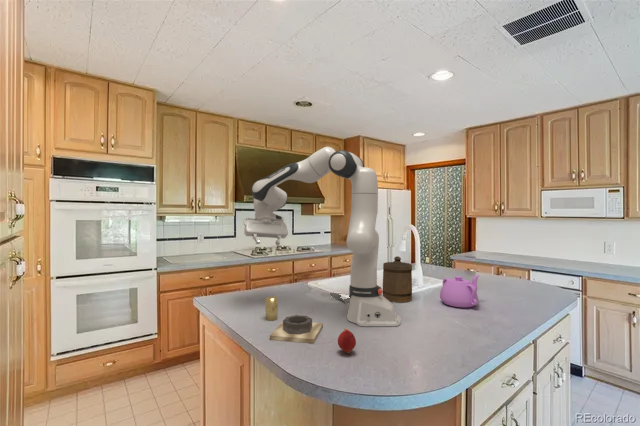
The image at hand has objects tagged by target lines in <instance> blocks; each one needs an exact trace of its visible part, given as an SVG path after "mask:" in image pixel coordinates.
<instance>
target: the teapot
mask: <svg viewBox="0 0 640 426" xmlns="http://www.w3.org/2000/svg"><path fill="white" fill-rule="evenodd" d="M479 277H480V274H477V275H475V276H474V277H473V278H472V280H471V281H470V280H469V279H464V278H463V276H462V275H454V278H447V277H446V278H444V279H443V280H442V287H441V289H440V292H439V293H440V294H439V298H440V300H441V301H442V303H443V304H445V305H447V306H450V307H454V308H472V307H475V306H476V305H477V304H478V302H479V297H478V293H477V292H478V278H479Z"/></svg>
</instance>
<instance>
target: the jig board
mask: <svg viewBox="0 0 640 426" xmlns="http://www.w3.org/2000/svg"><path fill="white" fill-rule="evenodd" d="M323 328H324V322H313V319H312V318H311V317H309V316H307V315H303V314H302V315H300V314H299V315H298V314H296V315H295V314H294V315H290V316H286V317H285V318H284V319H283V320H282V322H281V323H280V324H279V325H278V326H277V327H276V328H275V329H274V330H273V332H271V333H270V335H269V341H270V340H271V341H280V342H282V341H283V342H291V343H292V342H294V343H303V344H315V342H316V340H317V339H318V337H319V335H320V334H321V332H322V329H323Z"/></svg>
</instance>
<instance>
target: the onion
mask: <svg viewBox="0 0 640 426" xmlns="http://www.w3.org/2000/svg"><path fill="white" fill-rule="evenodd" d="M337 345H338V348H340V349H341V351H343V352H344V353H345V354H349V353H350V352H351V351H353V349H355V348H356V345H357V340H356V337H355V334H354V333H353V332H351V331H350V330H349V329H348V328H346V327H344V330H343V331H342V332H340V334H339V335H338V337H337Z"/></svg>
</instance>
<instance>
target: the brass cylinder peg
mask: <svg viewBox="0 0 640 426" xmlns="http://www.w3.org/2000/svg"><path fill="white" fill-rule="evenodd" d="M278 299H279V298H278V296H275V295H273V296H272V295H270V296H266V297H265V320H266V321H268V322H274V321H277V320H279V319H278V318H279V315H278V314H279V312H278V310H279V309H278V308H279V302H278Z"/></svg>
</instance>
